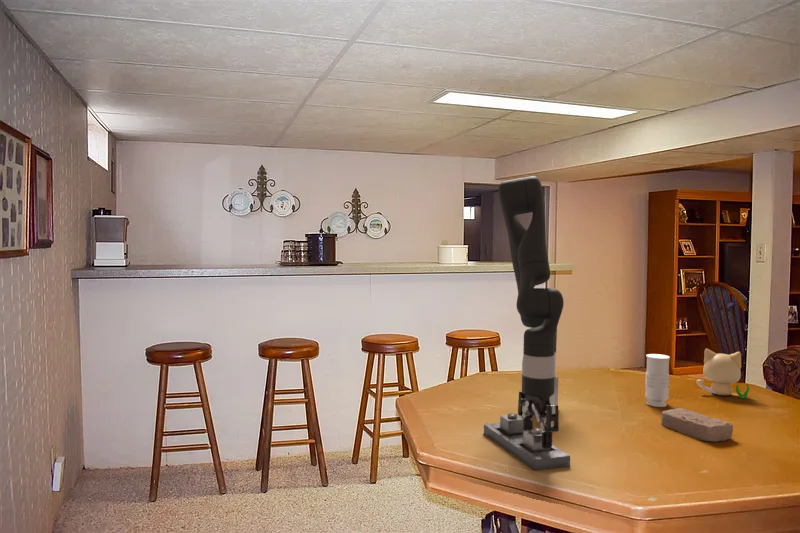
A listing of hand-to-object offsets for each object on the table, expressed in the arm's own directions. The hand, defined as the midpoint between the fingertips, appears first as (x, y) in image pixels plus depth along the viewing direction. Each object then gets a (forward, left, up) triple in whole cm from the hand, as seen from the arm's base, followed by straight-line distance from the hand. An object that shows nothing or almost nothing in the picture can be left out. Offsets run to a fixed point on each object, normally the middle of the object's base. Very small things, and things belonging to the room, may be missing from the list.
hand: (536, 441), depth 143 cm
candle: (-59, -29, -4) cm, 66 cm away
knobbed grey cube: (0, -12, -4) cm, 13 cm away
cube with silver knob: (0, 0, -4) cm, 4 cm away
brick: (-50, -4, -4) cm, 51 cm away
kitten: (-88, -32, -4) cm, 94 cm away
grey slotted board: (0, -6, -4) cm, 7 cm away
